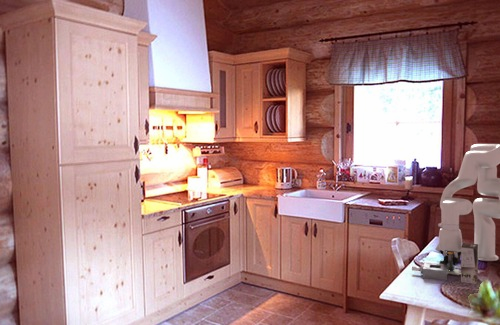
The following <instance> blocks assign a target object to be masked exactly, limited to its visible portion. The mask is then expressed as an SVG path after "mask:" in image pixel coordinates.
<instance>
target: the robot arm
mask: <svg viewBox="0 0 500 325" xmlns="http://www.w3.org/2000/svg"><path fill="white" fill-rule="evenodd" d="M469 148H470V150H469V151H467V152H466V153H465V154H464V156H463V158H462V162H461V166H460V169H459V172H458V176H457V177H456V178H455V179H454V180H452V181H450V183H449V184H447V186H445V188H444V189H443V191H442V195H441V198H440V201H439V207H440V211H441V222H440V223H438V224H437V226H438V227H440V229H439V233H438V243H437V245H436V246H435V251H436V252H439V253H440V254H441V255H442V256H443V260H444V262H445V264H447V251H454V253H455V255H454V267H456V265H457V264H458V262H457V257H458V256H459V255H460V256H461V247H462V244H463V236H462V230H461V229H460V216H464V215H468V214H470V213H471V212H472V211H473V217H474V229H473V230H474V235H473V236H474V239H473V240H474V241H473V242H474V243H473V244H478V261H482V262H483V261H484V262H494V261H495V262H496V261H498V260H499V256H498V255H496V224H495V221H494V220H493V219H500V177H498V176H497V175H498V167H497V166H498V165H499V164H500V143H476V144H473V145H471V146H470V147H469ZM476 182H477V183H476ZM475 184H477V185H476V186H477V187H476V188H477V189H476V190H477V193H478V194H480V195H482V196H485V197H479V198H475V199H474V201H473V203H472V202H471V201H470V200H469V199H465V198H459V197H453V195H454V194H455V193H456V192H458V191H459V190H462V189H464V188H467V187H470V186H474V185H475ZM486 196H487V197H496V198H498V199H496V198H487V197H486Z"/></svg>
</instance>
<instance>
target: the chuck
mask: <svg viewBox="0 0 500 325" xmlns="http://www.w3.org/2000/svg"><path fill="white" fill-rule="evenodd" d="M411 270H412V272H413V271H414V272H420V274H421V275H422V279H426V280H435V281H440V282H448V274H447V264H439V263H435V262H427V261H426V262H423V265H422V264H420V267H419V266H412V268H411Z"/></svg>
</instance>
